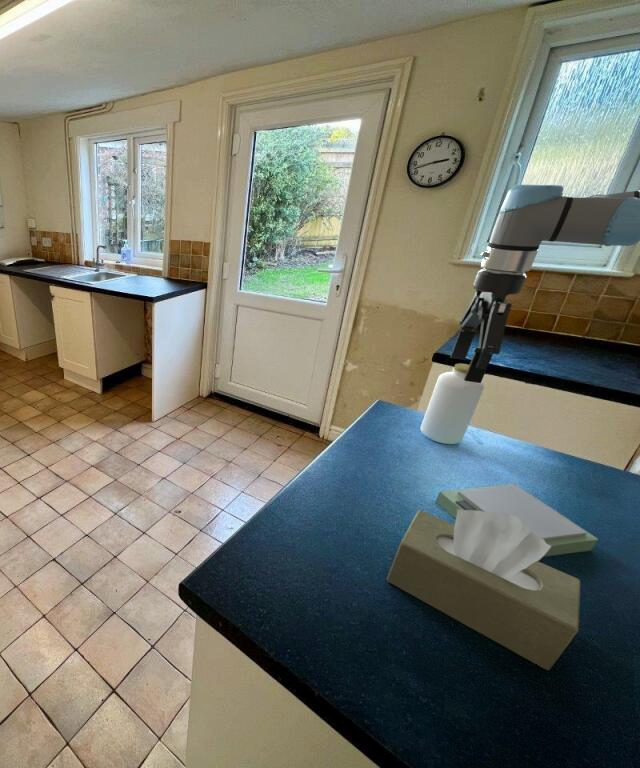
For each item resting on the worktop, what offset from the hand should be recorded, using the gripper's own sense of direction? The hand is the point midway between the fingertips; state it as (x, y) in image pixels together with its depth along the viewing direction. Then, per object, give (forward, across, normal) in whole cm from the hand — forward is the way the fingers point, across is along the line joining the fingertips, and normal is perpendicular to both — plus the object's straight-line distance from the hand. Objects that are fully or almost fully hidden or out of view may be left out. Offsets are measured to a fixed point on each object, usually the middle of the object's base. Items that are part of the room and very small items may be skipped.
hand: (464, 369), depth 91 cm
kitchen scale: (+17, +29, +6) cm, 34 cm away
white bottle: (+18, 0, 0) cm, 18 cm away
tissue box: (+18, +50, -4) cm, 53 cm away
